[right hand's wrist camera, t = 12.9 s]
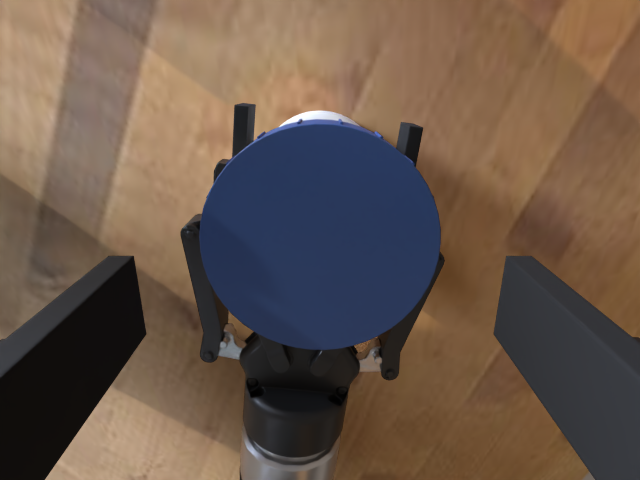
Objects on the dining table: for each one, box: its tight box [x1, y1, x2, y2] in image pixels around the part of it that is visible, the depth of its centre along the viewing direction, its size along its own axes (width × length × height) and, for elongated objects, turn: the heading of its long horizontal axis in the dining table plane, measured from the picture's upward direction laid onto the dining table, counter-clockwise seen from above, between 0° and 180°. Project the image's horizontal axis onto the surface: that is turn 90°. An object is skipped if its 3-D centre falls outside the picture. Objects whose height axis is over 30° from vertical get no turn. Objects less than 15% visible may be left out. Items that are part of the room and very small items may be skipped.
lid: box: [199, 119, 441, 350], centre depth 18 cm, size 10×10×2 cm
